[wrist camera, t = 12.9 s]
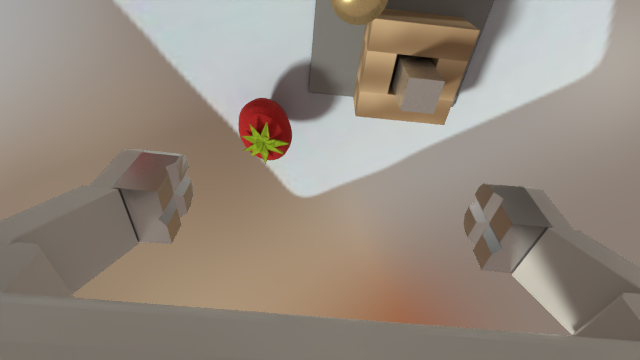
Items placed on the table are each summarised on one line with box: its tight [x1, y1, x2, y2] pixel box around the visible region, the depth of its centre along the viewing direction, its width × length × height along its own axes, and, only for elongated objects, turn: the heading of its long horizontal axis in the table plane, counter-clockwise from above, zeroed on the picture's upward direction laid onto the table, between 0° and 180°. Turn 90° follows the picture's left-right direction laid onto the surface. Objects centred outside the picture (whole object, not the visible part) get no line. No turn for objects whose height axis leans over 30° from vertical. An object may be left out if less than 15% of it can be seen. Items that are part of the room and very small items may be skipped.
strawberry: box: [239, 98, 292, 164], centre depth 38 cm, size 6×8×10 cm
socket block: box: [353, 9, 480, 125], centre depth 35 cm, size 10×10×5 cm
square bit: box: [390, 54, 445, 114], centre depth 33 cm, size 3×3×9 cm
